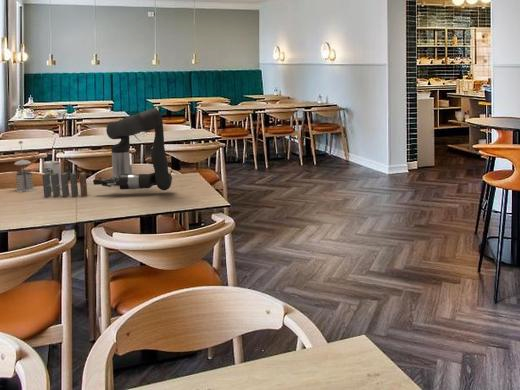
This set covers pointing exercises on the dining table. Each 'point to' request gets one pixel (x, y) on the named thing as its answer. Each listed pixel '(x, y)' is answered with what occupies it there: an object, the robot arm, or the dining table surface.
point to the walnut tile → (83, 184)
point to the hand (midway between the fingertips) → (93, 182)
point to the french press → (24, 176)
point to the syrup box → (52, 170)
